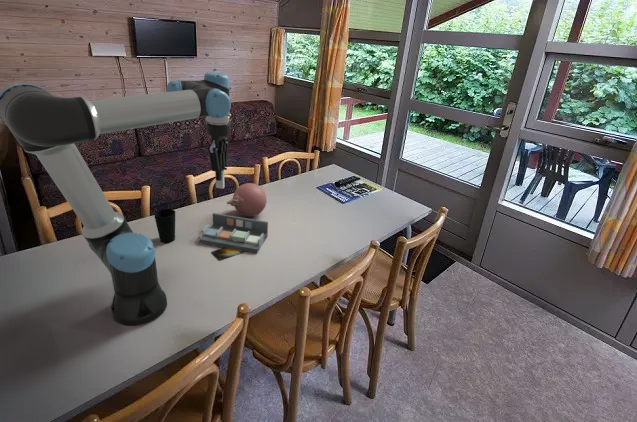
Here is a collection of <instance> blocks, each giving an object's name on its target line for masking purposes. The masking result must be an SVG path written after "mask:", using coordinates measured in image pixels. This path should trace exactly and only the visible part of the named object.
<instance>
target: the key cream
mask: <svg viewBox="0 0 637 422" xmlns="http://www.w3.org/2000/svg"><path fill="white" fill-rule="evenodd" d="M259 238H260V237H258V236H252V235H250V236H249V237H248V239H247V240H246V243H247V244H253V245H258V239H259Z"/></svg>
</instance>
